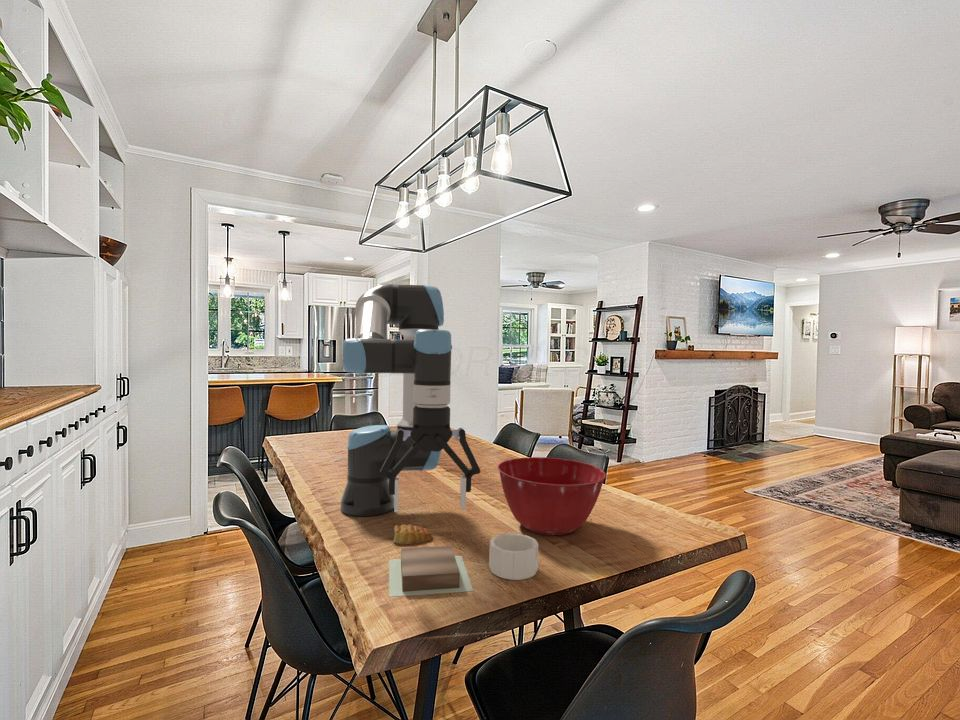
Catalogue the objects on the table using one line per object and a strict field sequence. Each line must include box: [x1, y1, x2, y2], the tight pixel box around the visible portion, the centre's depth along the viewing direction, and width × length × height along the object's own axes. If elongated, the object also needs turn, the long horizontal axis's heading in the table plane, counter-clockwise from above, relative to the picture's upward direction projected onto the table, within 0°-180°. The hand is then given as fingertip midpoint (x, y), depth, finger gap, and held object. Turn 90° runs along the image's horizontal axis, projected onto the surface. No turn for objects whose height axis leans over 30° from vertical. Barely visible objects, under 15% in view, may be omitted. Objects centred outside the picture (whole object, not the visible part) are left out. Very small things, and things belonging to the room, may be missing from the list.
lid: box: [400, 545, 460, 592], centre depth 102 cm, size 13×11×3 cm
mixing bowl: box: [497, 456, 607, 536], centre depth 132 cm, size 28×28×16 cm
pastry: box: [392, 523, 433, 545], centre depth 121 cm, size 9×7×4 cm
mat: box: [388, 555, 474, 598], centre depth 102 cm, size 16×16×1 cm
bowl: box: [488, 532, 539, 581], centre depth 105 cm, size 10×10×6 cm
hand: (429, 509), depth 102 cm, fingers open, 13 cm apart
